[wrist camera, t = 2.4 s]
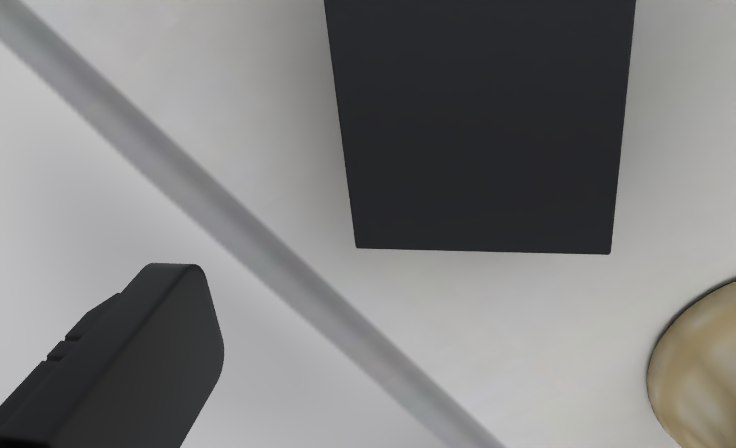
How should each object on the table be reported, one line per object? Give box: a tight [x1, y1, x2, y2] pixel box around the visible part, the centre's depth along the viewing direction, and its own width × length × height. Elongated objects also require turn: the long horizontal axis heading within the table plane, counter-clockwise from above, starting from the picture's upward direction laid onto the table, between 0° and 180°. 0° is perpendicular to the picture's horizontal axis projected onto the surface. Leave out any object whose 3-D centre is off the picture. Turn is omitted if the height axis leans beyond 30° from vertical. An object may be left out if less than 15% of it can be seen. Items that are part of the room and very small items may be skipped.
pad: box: [324, 0, 636, 255], centre depth 14 cm, size 6×10×3 cm, turn 6°
